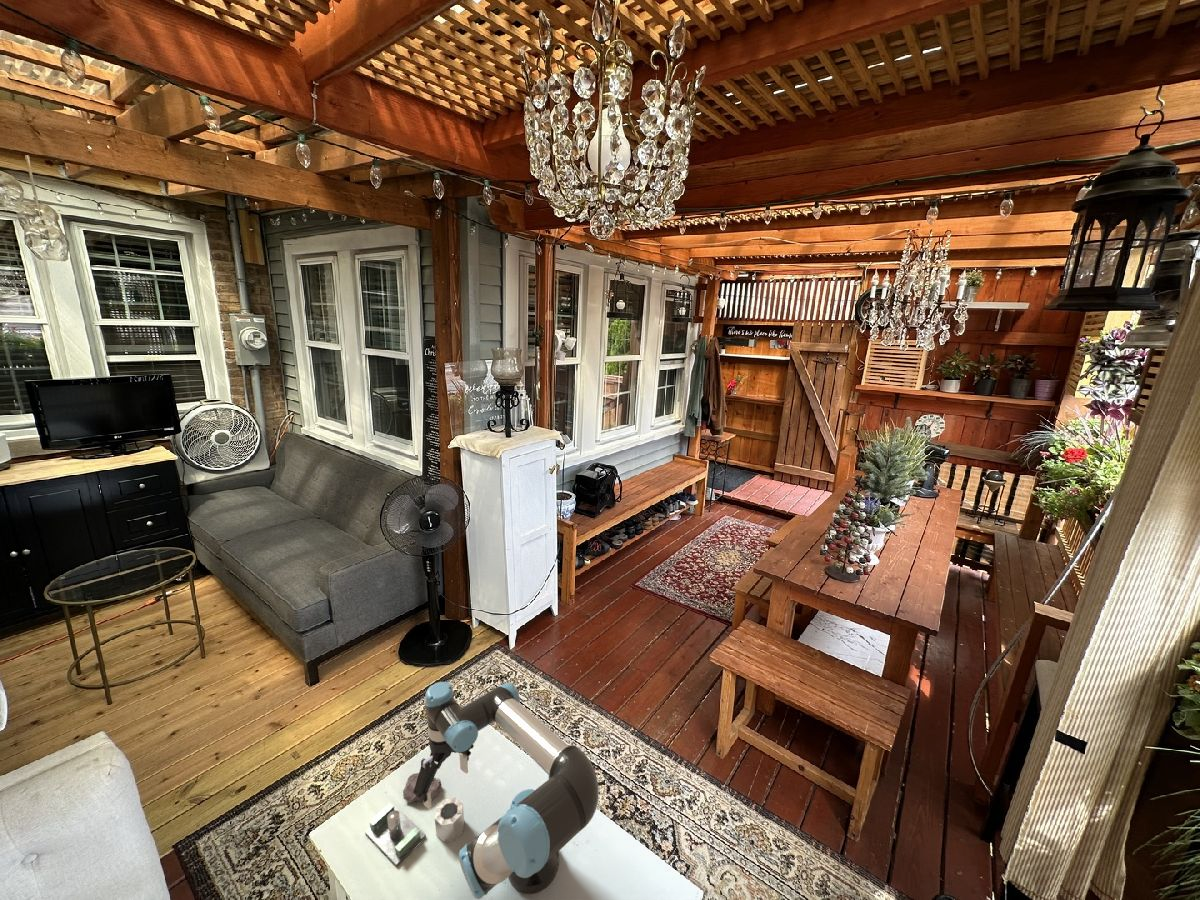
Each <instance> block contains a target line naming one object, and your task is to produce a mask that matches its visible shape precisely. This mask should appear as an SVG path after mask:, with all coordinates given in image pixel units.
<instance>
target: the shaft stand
mask: <svg viewBox="0 0 1200 900" xmlns="http://www.w3.org/2000/svg"><path fill="white" fill-rule="evenodd" d="M364 834H365V835H366V836H367V838H368V839H370V841H371V842H372V843H373V844H374V846H376V847H377V848H378V849H379V850H380V851H381V853H383V854H384V856H386V857H387V859H388V860H389V861H390V862H391V863H392V864H393V865H394V866H395V867H396V868H398V867H399V865H401V864H402V863H403V862H404V860H406V858H407V857H408V856H410V854H411V853H413V851H414V850H415V849H416V848H417V847H418V846H419V845H420V844H421V843H422V842H423V841H424V840H425V839H426V838H427V834H426V833H425V832H424V831H423V830H422V829H421V828H420V827H418V825H416V824H415V823H414V822H413V820H411V819H410V818H409V817H408V816H406V814H404V813H403V812H402V811H401V810H400V809H399V808H398V807H397V806H396V805H393V804H392V803H391V802H389V803H388V804H387V805H386V806H385V807H384V808H383V809H381V810H380V811H379V812H378V813H377V814H375V816H374V817H373V818H371V819H370V820H369V828H368V829H367V830H365V833H364ZM425 837H426V838H425ZM424 838H425V839H424ZM423 839H424V840H423ZM422 840H423V841H422ZM421 841H422V842H421ZM420 842H421V843H420ZM419 843H420V844H419ZM418 844H419V845H418ZM417 845H418V846H417ZM416 846H417V847H416ZM415 847H416V848H415ZM414 848H415V849H414ZM413 849H414V850H413ZM412 850H413V851H412Z"/></svg>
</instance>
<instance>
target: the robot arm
mask: <svg viewBox="0 0 1200 900" xmlns="http://www.w3.org/2000/svg"><path fill="white" fill-rule="evenodd" d="M424 695H425V696H424V697H425V700H424V701H425V703H424V706H425V710H426V711H425V712H426V720H427V721H426V722H427V723H426V724H427V731H428V745H429V749H430V754H429V756H428V757H427V758H422V759H421V761H420V770H419V772H418V773H419V775H418V778H417V781H416V785H415V788H414V791H413V793H414V794H415V795H416V796H417V797H418V798H420V797H421V800H422V801H421V802H423V806H425V807H426V808H427V809H428V810H431V809H432V808H433V805H432V804H433V803H432V800H431V794H430V790H429V787H430V785H431V783H432V781H433V778H435V776H436V773H437V771H438V770H439V769H441V766H442V764H443V763H444V762H445V761H446V760H447V759H448V758H449V757H451V755H452V753H455V754H457V753H458V755H459V767H460V768H459V769H460V770H461V771H462V772H463V773H465V774H467V773H469V766H468V765H469V764H468V762H469V760H470V757H469V756H471V754H472V752H471V751H470V750H471V749H474V746H475V745H474V744H475V743H476V741H477V740H478V737H479V732H480V731H481V730H482V729H485V728H486V727H487V726H489V725H491V724H492V723H496V724H497V725H498V726H499V727H500V728H501V730H503V731H504V732H505V733H506V734H507V735H508V736H509V737H510V738H511V739H512V740H513V741H514V742H515V743H516V745H518V746H519V747H520V748H521V750H523V751H524V752H525V753H526V755H528V756H529V757H530V758H531V760H533V761H534V762H535V763H536V764H537V766H539V767H540V769H542V770H543V771H544V773H546V774H547V775H548V779H547V780H546V781H545V782H543V783H542V784H541V785H540V786H538V787H537V788H536V789H534V788H529V789H523V790H522V791H520V792H519V793H516V794H515V796H514V797H513V800H512V802H511V804H510V807H509V809H507V811H506V812H505V814H504V815H503V816H501V817H500V818H498V819H497V820H496V821H494V822H493V823H492V824H491V825H490V826H488V827H487V828H486V829H485V830H483V831H482V832H481V833H479V834H478V835H476V837H474V838H473V839H472V840H470V842H467V843H465V845H464V846H463V847H462V848H461V849H460V850H459V852H458V862H459V864H460V867H461V870H462V873H463V876H464V878H465V881H466V883H467V886H468V888H469V890H470V893H471V894H472V896H473V897H474V899H476V900H481V899H482V898H483V897H484V896H487V895H488V894H489V892H490V891H491V890H492V889H493V888H495V887H496V886H497V885H498V884H500V883H503V882H504V881H505V880H506V879H508V881H509V883H510V884H511V886H513V888H514V889H515V890H517V891H519V892H521V893H522V894H523V893H524V894H530V895H531V894H536V893H538V892H542V891H543V890H545V889H546V888H547V887H548V886H549V885H551V883H552V882H553V881H554V880H555V877H556V875H557V874H558V873H557V872H558V869H559V865H560V864H559V862H560V859H559V855H560V853H559V852H560V851H561V850H562V849H563V848H564V847H565V846H566V845H567V844H568V843H569V842H570V841H571V840H573V839H574V837H576V836H577V834H579V833H580V832H581V831H582V830H583V829H585V828H586V827H587V825H588V824H590V822H591V821H592V819H593V817H594V815H595V812H596V810H597V807H598V802H599V781H598V776H597V774H596V770H595V768H594V766H593V764H592V762H591V760H590V759H589V757H588V756H587V754H586V753H584V751H582V749H580V748H579V747H578V746H576V745H574V744H569V745H568V744H567V743H566V742H565V741H564V740H562V739H561V738H560V737H559V736H558V735H557V734H555V733H554V732H553V731H552V730H551V729H550V728H549V727H547V726H546V725H545V724H544V723H543V722H541V720H539V718H537V717H536V716H535V715H533V713H532V712H530V711H529V710H528V709H527V708H526V707H524V706H523V705H522V704H521V703H520V701H521V698H520V695H519V691H518V690H517V688H516V686H515V685H514V684H513V683H511V682H505V683H503V684H501V685H499V686H496V687H495V688H493V689H492V690H490V691H488V692H487V693H485V694H483V695H481V696H479V697H478V698H476V699H475V700H473V701H470V702H469V703H467V704H466V705H464V706H463V707H461V706H460V704H459V703H458V702H457V701H456V699H455V698H454V695H455V693H454V690H453V686H452V684H450V683H448V682H447V681H439V682H435V683H434V684H432V685H430V686H429V687H428V689H426V692H425V694H424Z"/></svg>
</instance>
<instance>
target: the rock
mask: <svg viewBox="0 0 1200 900" xmlns="http://www.w3.org/2000/svg"><path fill="white" fill-rule="evenodd" d="M418 775H419V772H417V773H412V774H411V775H409V776H408V778H407V780H406V783H405V786H404V789H403V790H402V796H403V800H405V802H408V804H409V803H413V802H423V801H422V800H421V797H420V798H418V797H417V796H416V795H415V794H414V793H413V791H414V788H415V785H416V781H417V778H418ZM441 788H442V782H441V780H440V779H439V778H437V777H434V778H433V781H432V783H431V785H430V787H429V790H430V794H431V801H432V800H433V799H434V798H435V797H436V796H437V795H438V794H439V792H441Z"/></svg>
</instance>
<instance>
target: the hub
mask: <svg viewBox="0 0 1200 900" xmlns="http://www.w3.org/2000/svg"><path fill="white" fill-rule="evenodd" d="M434 825H435V836H436V837H437V838H438V839H439V840H440V841H441V842H443V843H447V842H452V841H456V840H457V839H458V838H459V836H461V834H462V833H463V832H464V829H465V827H464V825H465V814H464V803H463V802H462V801H460V799H458V798H457V797H451V798H446V799H444V800H443V801H442V802H441V803H440V804H439V805H437V807H436V808H435V815H434Z"/></svg>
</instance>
